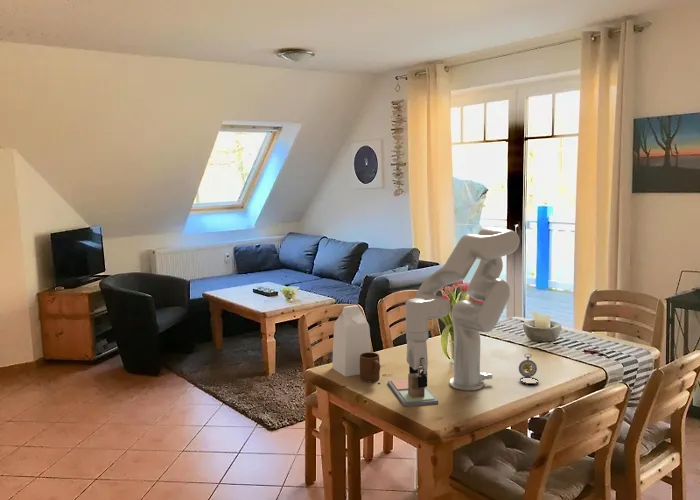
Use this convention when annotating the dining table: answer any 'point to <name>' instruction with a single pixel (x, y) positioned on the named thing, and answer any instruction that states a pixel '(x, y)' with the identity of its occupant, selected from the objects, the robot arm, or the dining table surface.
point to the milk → (350, 341)
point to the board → (402, 393)
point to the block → (414, 386)
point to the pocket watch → (527, 369)
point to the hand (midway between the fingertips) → (418, 381)
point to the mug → (369, 367)
